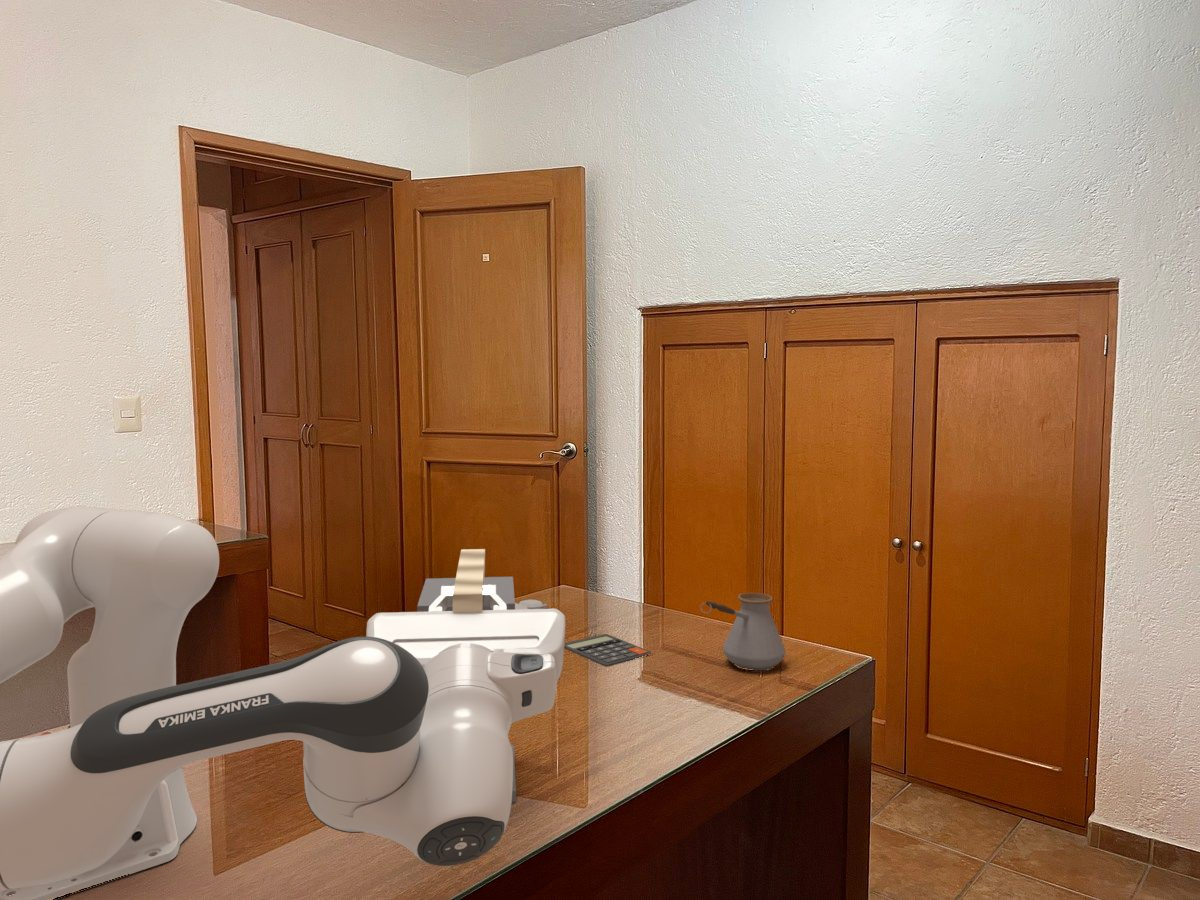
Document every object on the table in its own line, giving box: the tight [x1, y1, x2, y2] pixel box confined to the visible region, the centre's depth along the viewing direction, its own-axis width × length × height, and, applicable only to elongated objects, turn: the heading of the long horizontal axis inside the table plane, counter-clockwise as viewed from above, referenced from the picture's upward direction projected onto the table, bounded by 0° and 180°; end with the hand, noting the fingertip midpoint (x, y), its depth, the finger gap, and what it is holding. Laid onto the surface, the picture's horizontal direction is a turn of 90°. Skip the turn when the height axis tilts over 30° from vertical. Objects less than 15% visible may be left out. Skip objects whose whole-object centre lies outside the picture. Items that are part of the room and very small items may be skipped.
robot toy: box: [515, 599, 553, 609], centre depth 192 cm, size 12×4×15 cm
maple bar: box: [453, 548, 486, 612], centre depth 103 cm, size 22×3×2 cm, turn 6°
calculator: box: [564, 633, 652, 668], centre depth 174 cm, size 12×1×15 cm
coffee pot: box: [700, 592, 786, 671], centre depth 162 cm, size 21×12×15 cm, turn 137°
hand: (469, 589), depth 97 cm, fingers closed on maple bar, 3 cm apart
